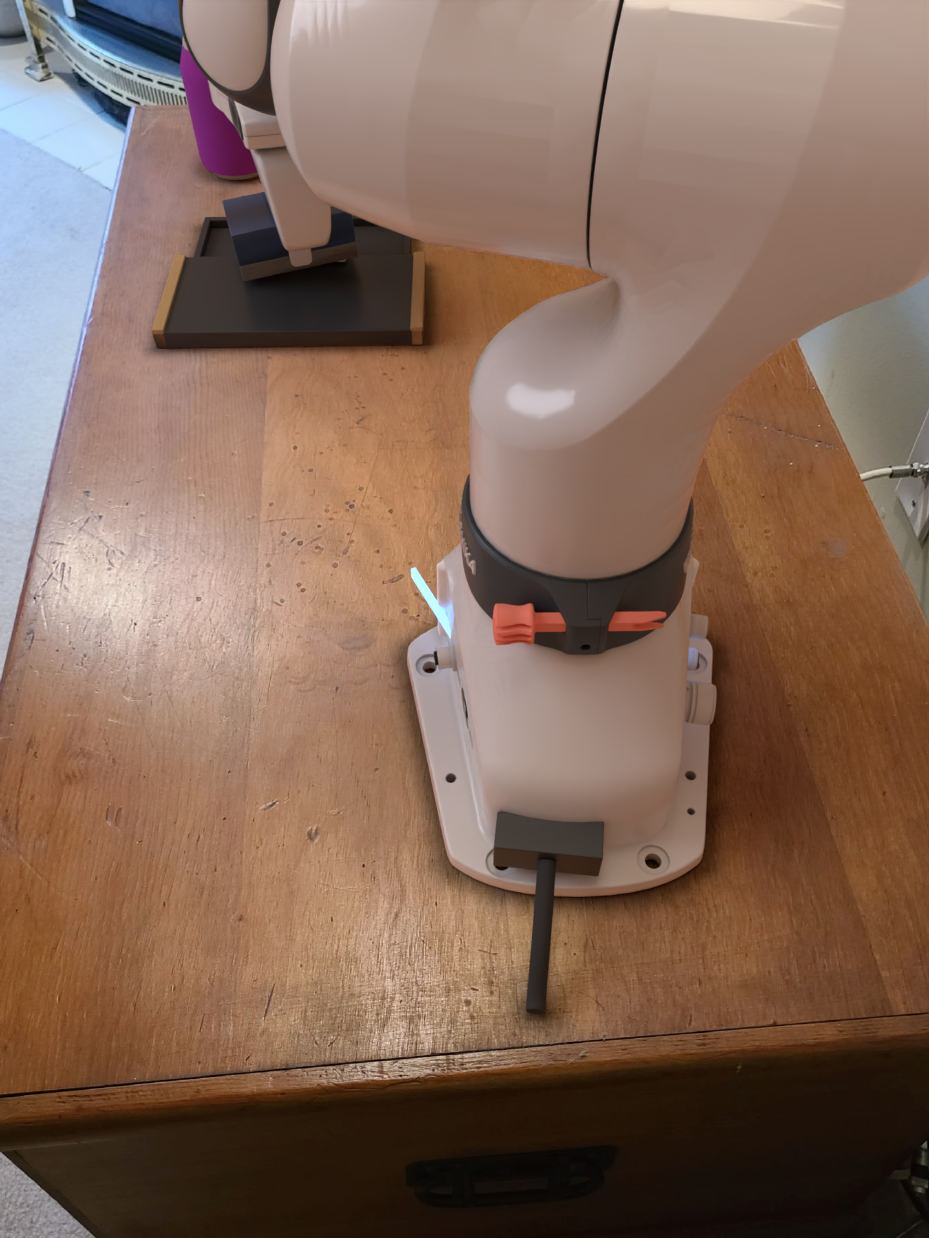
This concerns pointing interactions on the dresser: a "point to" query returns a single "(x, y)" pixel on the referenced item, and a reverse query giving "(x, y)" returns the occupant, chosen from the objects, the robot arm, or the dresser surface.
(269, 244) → the eraser
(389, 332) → the slate board
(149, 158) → the dresser surface
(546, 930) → the robot arm
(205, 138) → the beverage can
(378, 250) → the tray
